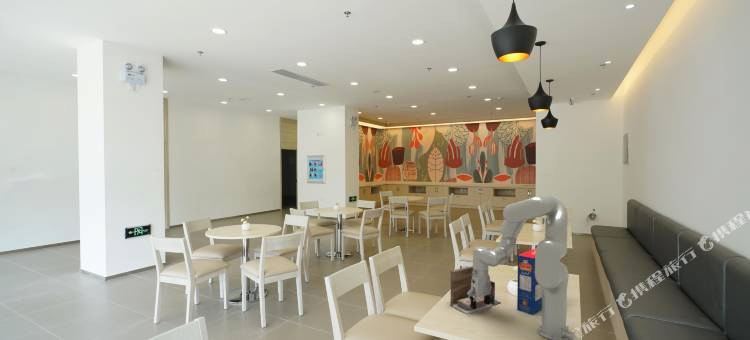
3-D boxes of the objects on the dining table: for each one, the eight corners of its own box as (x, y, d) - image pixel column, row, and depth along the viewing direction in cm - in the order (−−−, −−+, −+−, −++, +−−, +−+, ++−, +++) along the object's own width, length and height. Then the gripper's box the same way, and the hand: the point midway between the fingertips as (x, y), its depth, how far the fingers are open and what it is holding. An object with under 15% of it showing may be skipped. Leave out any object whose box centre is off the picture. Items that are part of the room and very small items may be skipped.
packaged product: (477, 292, 192) (492, 298, 183) (477, 301, 192) (491, 307, 183) (452, 298, 182) (466, 305, 174) (452, 308, 183) (466, 315, 174)
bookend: (501, 303, 188) (501, 280, 187) (493, 305, 185) (494, 282, 184) (485, 297, 196) (486, 275, 196) (478, 299, 193) (479, 277, 193)
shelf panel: (480, 298, 194) (480, 265, 193) (453, 306, 183) (453, 271, 182) (477, 297, 195) (477, 264, 195) (450, 305, 185) (450, 270, 184)
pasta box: (541, 296, 198) (542, 246, 197) (556, 300, 192) (557, 248, 191) (517, 310, 179) (517, 254, 178) (533, 315, 173) (533, 258, 173)
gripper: (474, 277, 170) (473, 312, 170) (498, 271, 179) (497, 304, 180) (462, 272, 176) (462, 307, 177) (486, 267, 186) (485, 300, 186)
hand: (480, 306), depth 178 cm, fingers open, 9 cm apart
